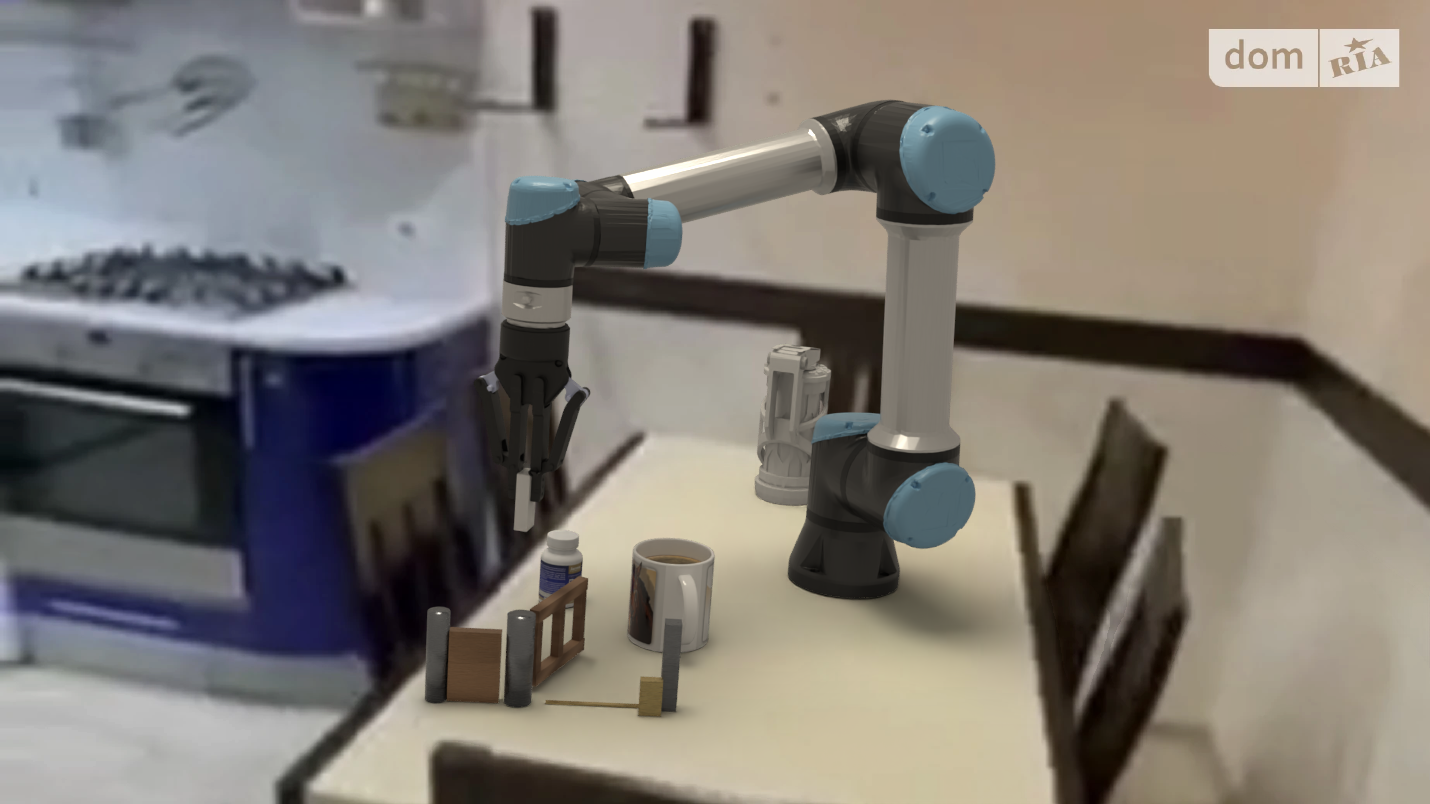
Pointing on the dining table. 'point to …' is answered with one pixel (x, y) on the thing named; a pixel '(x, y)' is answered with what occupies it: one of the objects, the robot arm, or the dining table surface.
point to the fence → (484, 662)
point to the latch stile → (663, 675)
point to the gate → (559, 628)
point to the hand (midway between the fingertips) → (524, 527)
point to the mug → (670, 591)
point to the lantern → (790, 422)
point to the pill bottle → (559, 563)
